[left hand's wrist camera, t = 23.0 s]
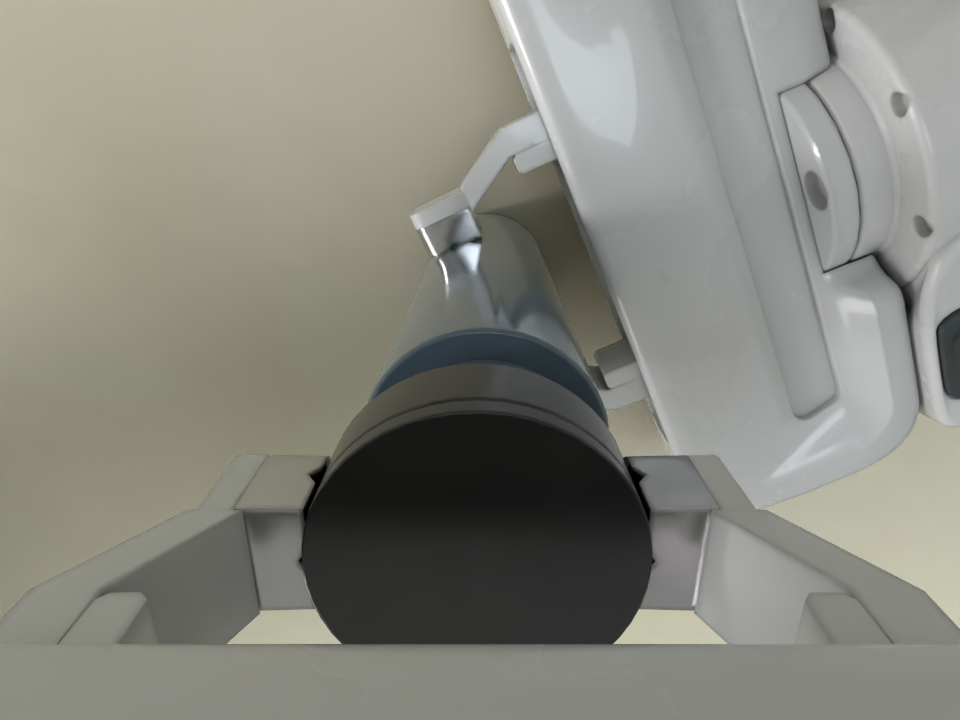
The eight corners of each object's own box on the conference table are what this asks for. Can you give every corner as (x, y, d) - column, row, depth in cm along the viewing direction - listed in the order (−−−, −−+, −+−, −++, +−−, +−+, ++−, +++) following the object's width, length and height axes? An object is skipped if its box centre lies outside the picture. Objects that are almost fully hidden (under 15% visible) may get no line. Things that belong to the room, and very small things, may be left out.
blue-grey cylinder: (466, 190, 24) (430, 303, 9) (565, 251, 24) (685, 448, 10) (410, 289, 25) (297, 530, 10) (505, 344, 26) (528, 640, 11)
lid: (612, 616, 11) (633, 699, 9) (339, 612, 11) (315, 694, 9) (642, 363, 9) (676, 414, 8) (316, 358, 9) (283, 408, 8)
